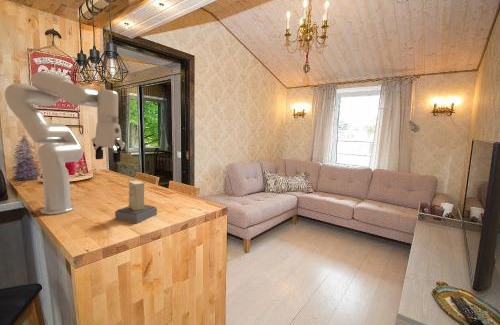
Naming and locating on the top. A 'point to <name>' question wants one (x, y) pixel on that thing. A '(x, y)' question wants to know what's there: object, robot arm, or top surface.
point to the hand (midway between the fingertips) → (107, 160)
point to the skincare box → (136, 195)
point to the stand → (135, 214)
